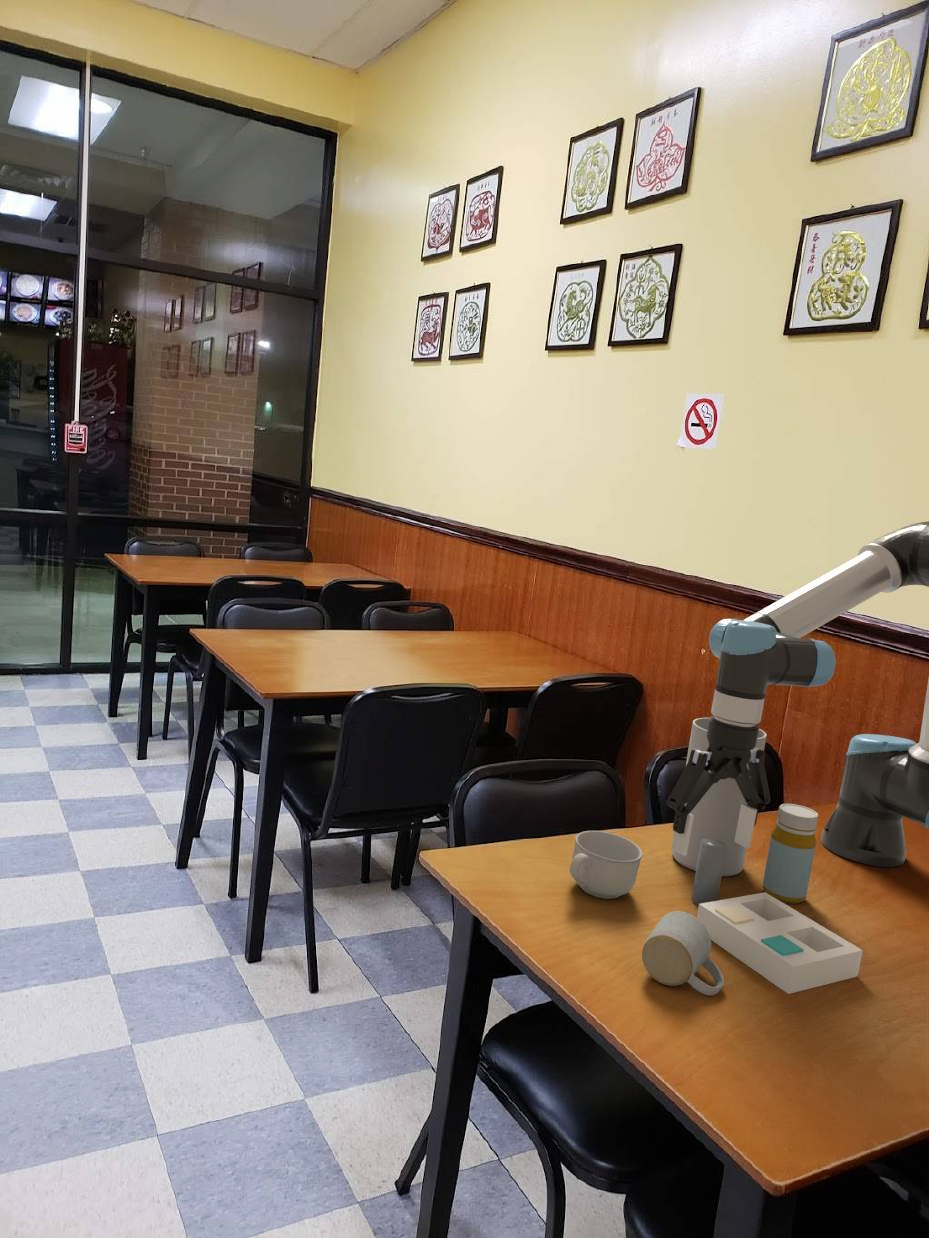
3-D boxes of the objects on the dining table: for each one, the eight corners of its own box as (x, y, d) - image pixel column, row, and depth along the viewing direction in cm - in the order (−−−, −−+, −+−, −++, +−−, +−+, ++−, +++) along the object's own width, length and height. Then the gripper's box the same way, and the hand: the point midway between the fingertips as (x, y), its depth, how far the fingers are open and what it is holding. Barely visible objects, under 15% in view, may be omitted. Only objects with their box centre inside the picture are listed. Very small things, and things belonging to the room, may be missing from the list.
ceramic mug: (634, 977, 121) (643, 924, 120) (653, 952, 128) (662, 902, 127) (712, 1009, 116) (723, 953, 115) (728, 981, 123) (738, 929, 122)
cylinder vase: (657, 851, 165) (678, 718, 161) (709, 845, 171) (730, 716, 167) (704, 881, 154) (727, 740, 150) (758, 874, 160) (782, 737, 156)
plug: (704, 894, 149) (714, 837, 147) (722, 906, 145) (732, 847, 144) (686, 897, 147) (695, 839, 145) (703, 909, 143) (713, 849, 142)
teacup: (604, 871, 154) (610, 826, 152) (649, 899, 145) (657, 852, 143) (539, 884, 146) (546, 837, 144) (583, 915, 137) (591, 865, 136)
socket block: (761, 915, 144) (765, 890, 143) (857, 976, 128) (863, 948, 127) (694, 928, 137) (699, 901, 136) (788, 994, 121) (793, 964, 121)
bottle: (808, 908, 148) (824, 821, 146) (764, 900, 150) (779, 813, 147) (801, 890, 155) (817, 807, 153) (759, 882, 156) (774, 799, 154)
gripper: (772, 712, 151) (749, 832, 154) (657, 713, 138) (635, 844, 142) (808, 725, 144) (784, 851, 147) (691, 728, 132) (667, 865, 135)
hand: (711, 848), depth 145 cm, fingers open, 13 cm apart
